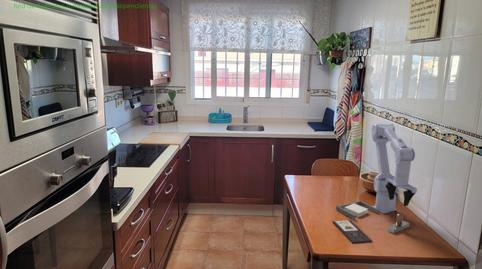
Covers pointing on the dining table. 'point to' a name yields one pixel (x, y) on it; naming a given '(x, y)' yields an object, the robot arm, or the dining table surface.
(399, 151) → the robot arm
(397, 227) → the scraper
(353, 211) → the tile
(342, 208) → the bay
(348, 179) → the dining table surface
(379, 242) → the dining table surface
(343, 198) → the dining table surface
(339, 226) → the chocolate bar
